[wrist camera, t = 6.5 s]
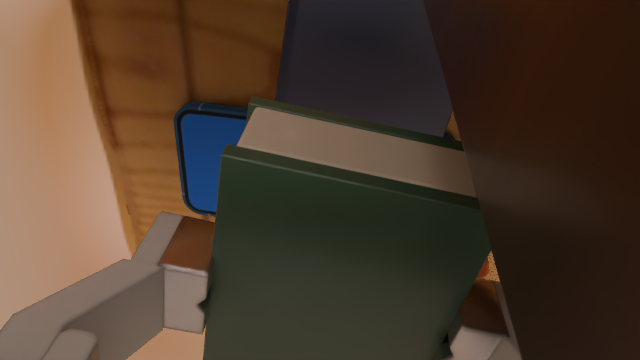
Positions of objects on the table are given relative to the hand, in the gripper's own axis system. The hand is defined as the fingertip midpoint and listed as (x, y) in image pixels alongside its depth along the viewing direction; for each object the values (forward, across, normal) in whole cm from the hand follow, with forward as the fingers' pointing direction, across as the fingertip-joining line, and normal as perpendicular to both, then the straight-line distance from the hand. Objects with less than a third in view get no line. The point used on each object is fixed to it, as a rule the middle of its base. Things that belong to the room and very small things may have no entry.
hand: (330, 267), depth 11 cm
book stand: (+14, -6, -8) cm, 18 cm away
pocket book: (+1, 0, 0) cm, 1 cm away
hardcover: (+15, -1, -1) cm, 15 cm away
